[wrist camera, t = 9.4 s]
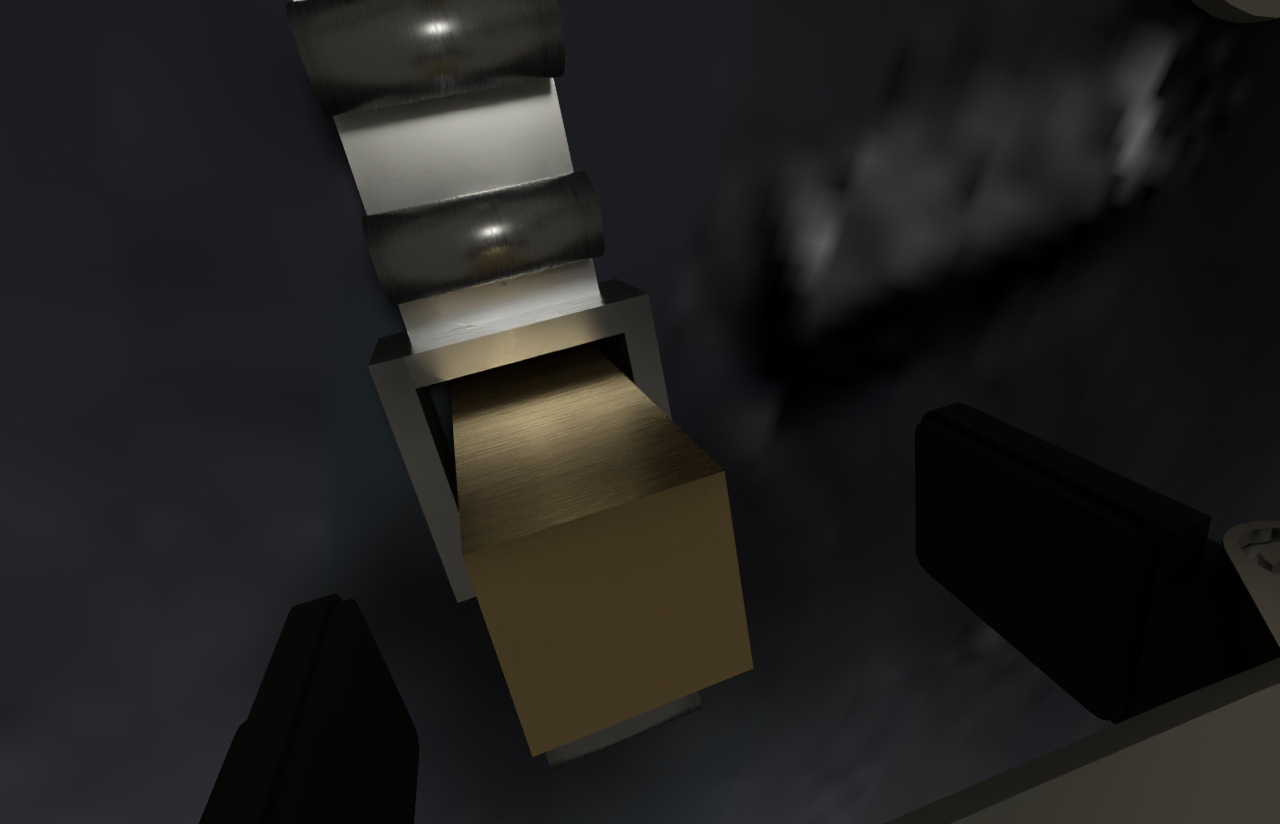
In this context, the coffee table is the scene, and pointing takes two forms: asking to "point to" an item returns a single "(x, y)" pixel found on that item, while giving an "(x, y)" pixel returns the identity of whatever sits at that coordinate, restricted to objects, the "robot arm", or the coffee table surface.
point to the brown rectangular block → (593, 544)
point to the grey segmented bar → (471, 225)
